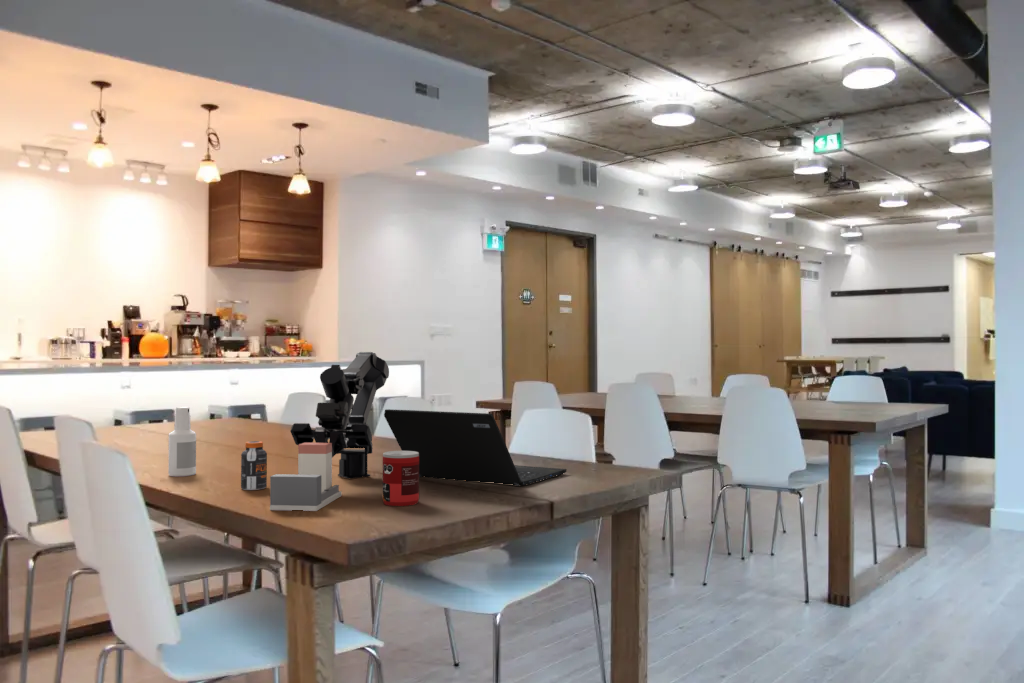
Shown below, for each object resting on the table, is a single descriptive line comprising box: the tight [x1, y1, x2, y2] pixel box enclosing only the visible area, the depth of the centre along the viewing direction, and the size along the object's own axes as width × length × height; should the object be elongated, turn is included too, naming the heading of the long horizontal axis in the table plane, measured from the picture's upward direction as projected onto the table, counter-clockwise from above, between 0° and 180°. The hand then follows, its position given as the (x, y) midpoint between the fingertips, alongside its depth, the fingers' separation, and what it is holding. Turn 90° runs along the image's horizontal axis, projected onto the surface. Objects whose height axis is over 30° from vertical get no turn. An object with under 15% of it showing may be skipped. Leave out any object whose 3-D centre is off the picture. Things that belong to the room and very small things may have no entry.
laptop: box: [383, 408, 567, 487], centre depth 205 cm, size 33×38×19 cm
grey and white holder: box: [269, 473, 343, 512], centre depth 174 cm, size 17×10×7 cm, turn 175°
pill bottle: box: [240, 440, 268, 491], centre depth 191 cm, size 6×6×11 cm
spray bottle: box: [167, 406, 197, 478], centre depth 211 cm, size 7×7×18 cm
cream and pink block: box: [297, 442, 333, 492], centre depth 179 cm, size 4×6×11 cm, turn 85°
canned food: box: [382, 450, 420, 507], centre depth 173 cm, size 8×8×11 cm
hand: (323, 462), depth 184 cm, fingers closed
